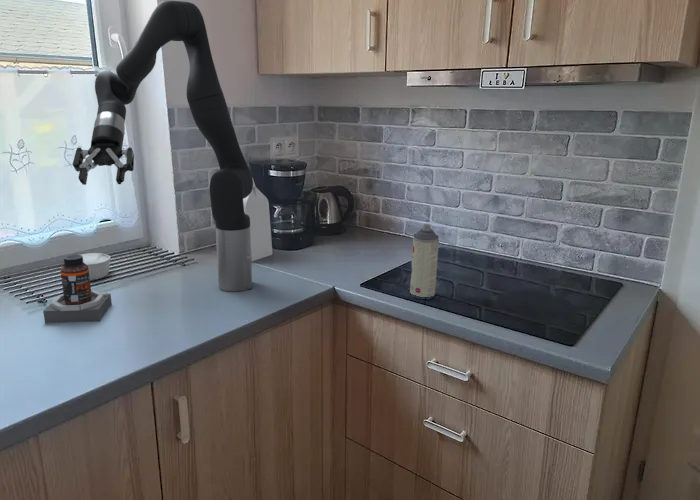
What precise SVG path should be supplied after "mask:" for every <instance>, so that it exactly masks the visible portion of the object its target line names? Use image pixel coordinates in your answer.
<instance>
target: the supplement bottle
mask: <svg viewBox="0 0 700 500" xmlns="http://www.w3.org/2000/svg"><path fill="white" fill-rule="evenodd" d="M60 276H61V285H62V292H63V293H62V294H64V301H65V303H66V304H68V305H80V304H84V303H87V302H89V301H90V300H91V299H92V295H91V290H92V289H91V288H92V287H91V280H90V277H89V269H88V266H87V265H86V264H85V263H84V262H83V256H82V255H81V254H70V255H66V256H64V258H63V265H62V266H61V268H60Z"/></svg>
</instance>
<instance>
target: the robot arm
mask: <svg viewBox="0 0 700 500" xmlns="http://www.w3.org/2000/svg"><path fill="white" fill-rule="evenodd" d="M206 27H207V26H206V24H205V19H204V16H203V14H202V11H201V10H200V8H199V7H198V6H197V5H196V4H194V3H192V2H189V1H183V0H182V1H181V0H180V1H179V0H163V1H161V2H159V3H158V4H157V5H156V7H155V8H154V10H153V11H152V13H151V14H150V16H149V18H148V20H147V21H146V24H145V26H144V27H143V29H142V31H141V33H140V34H139V36H138V39H137V41H136V42H135V44H134V45H133V46H132V47H131V49H130V50H129V51H128V52H127V54H126V55H125V56H124V57H123V58H122V59H120V61H119V63H118V64H117V65H116V68H115V69H116V73H115V72H113V71H111V70H105V69H104V70H103V71H101V72H99V73H98V74H97V75H96V78H95V81H94V90H95V95H96V100H97V112H96V113H97V114H96V118H95V120H94V124H93V130H92V133H91V134H92V135H91V142H90V147H89V148H88V149H82V147H79V146H78V147H77V148H76V150H75V154H74V157H73V162H72V166H73V168H74V170H75V172H77V173H79V174H78V180H79V182H80V183H81V185H84V186H85V185H87V182H88V175H89V172H90V171H91V170H93V169H95V168H97V166H99V167H100V166H101V167H102V166H106V167H107V166H108V167H109V166H111V167H112V165H114V166H115V167H116V169H117V170H116V177H115V181H116V183H117V185H122V183H124V181H125V176H126V172H133V171H134V165H135V153H134V150H133V148H132V147H130V146H129V147H127V148H126V149H123V146H124V145H123V144H124V137H125V132H126V131H125V130H126V129H125V128H126V127H125V124H126V117H127V108H126V105H129V104H131V103H132V102H133V101H134V99H135V97H136V93H137V90H138V89H139V86H140V85H141V83H142V82H143V81H144V80H145V79H146V77H147V76H149V74H150V73H151V72H152V71H153V69H154V68H155V65H156V61H157V54H158V52H159V50H161V48H162V47H163V46H165V45H166V44H168V43H170V42H183V44H184V47H185V51H186V55H187V57H188V61H189V72H188V79H187V84H186V99H187V103H188V107H189V110H190V113H191V115H192V119H193V122H194V123H195V125H196V127H197V128H198V130H199V131H200V133H201V134H202V136H204V138H205V140H206V141H207V142H208V144H209V145H210V147H211V148H212V149H213V150H212V151H214V154H215V157H216V160H217V162H218V166H219V169H218V170H217V171H215V172H213V174H212V175H211V177H210V181H209V198H210V200H209V201H210V209H211V215H212V218H213V220H214V225H215V241H216V243H215V244H216V259H217V260H216V262H217V281H218V288H219V289H220V290H221V291H226V292H242V291H245V290H249V289H250V290H251V289H252V288H253V261H252V251H251V234H250V217H249V216H248V215H247V214H245V212H244V205H243V199H244V198H246V197H247V196H249V194H250V193H251V192H252V189H253V180H254V178H253V176H252V173H251V170H250V168H249V166H248V163H247V161H246V159H245V157H244V154H243V152H242V149H241V147H240V144H239V140H238V137H237V135H236V132H235V128H234V125H233V121H232V119H231V115H230V111H229V109H228V108H229V107H228V105H227V101H226V98H225V95H224V92H223V89H222V87H221V84H220V80H219V77H218V73H217V70H216V67H215V63H214V60H213V55H212V51H211V46H210V42H209V38H208V33H207V32H208V31H207V28H206ZM123 156H124V157H125V158H126V163H123V162H121V160H120V159H121V158H122V157H123ZM252 178H253V179H252Z"/></svg>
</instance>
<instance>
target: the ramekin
mask: <svg viewBox="0 0 700 500" xmlns="http://www.w3.org/2000/svg"><path fill="white" fill-rule="evenodd" d="M80 255H82V256H83V262H84V263H85V264H86V265H87V266H88V269H89V277H90V281H93V280H92V279H96V280H98V279H97V278H100V279H102V278H101V277H103V278H105V277H107V275H108V274H109V272H110V266H111V265H110V262H111V261H112V259H111V256H110V255H109V254H106V253H100V252H91V253H89V252H88V253H83V254H80ZM104 276H105V277H104Z"/></svg>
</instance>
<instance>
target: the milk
mask: <svg viewBox="0 0 700 500" xmlns="http://www.w3.org/2000/svg"><path fill="white" fill-rule="evenodd" d="M252 179H253V189H252V192H251V193H250V194H249V196H247V197H246V198H244V199H243V205H244V212H245V214H247V215H248V216H249V217H250V234H251V251H252V262H254V261H257V260H260V259H264V258H266V257H269V256H272V255H273V245H272V244H273V243H272V241H273V240H272V230H271V217H270V203H269V199H268V198H267V196H266V195H265V194H263V193H262V192H261V191H260V189H258V187H256V184H255V181H254V178H253V177H252Z"/></svg>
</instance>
